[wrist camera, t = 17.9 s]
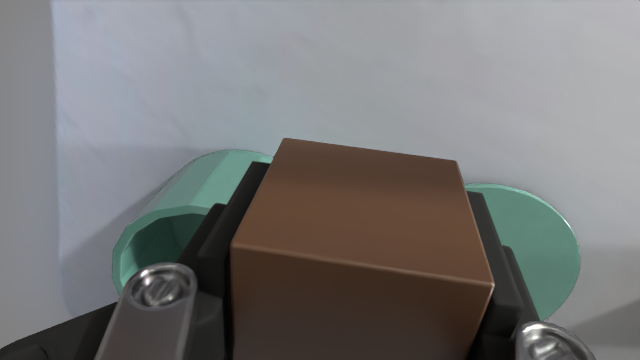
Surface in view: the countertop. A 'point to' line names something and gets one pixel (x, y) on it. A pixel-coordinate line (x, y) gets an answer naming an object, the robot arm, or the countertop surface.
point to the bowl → (179, 211)
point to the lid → (535, 243)
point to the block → (357, 259)
